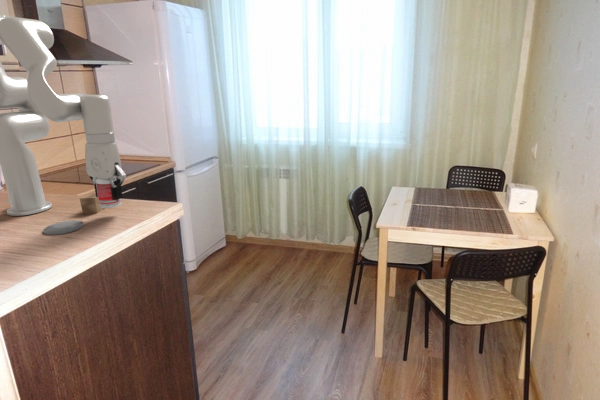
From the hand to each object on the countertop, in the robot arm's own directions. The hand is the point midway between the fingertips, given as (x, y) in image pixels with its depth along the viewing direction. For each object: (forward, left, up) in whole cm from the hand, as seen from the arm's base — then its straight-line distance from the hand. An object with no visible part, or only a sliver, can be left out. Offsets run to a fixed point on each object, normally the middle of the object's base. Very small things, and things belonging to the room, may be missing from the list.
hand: (109, 197), depth 122 cm
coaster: (-5, -13, -6) cm, 15 cm away
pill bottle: (0, 0, -3) cm, 3 cm away
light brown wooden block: (-11, +2, -6) cm, 13 cm away
